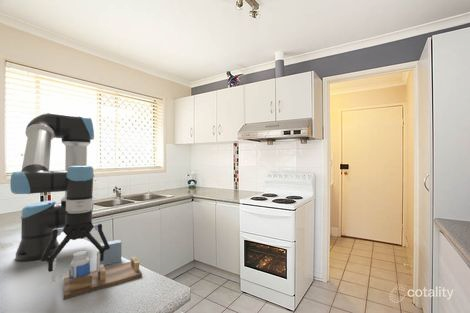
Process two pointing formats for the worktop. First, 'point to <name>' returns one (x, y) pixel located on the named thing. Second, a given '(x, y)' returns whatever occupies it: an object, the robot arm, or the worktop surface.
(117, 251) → the block
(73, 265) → the pill bottle
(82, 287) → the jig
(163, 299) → the worktop surface
